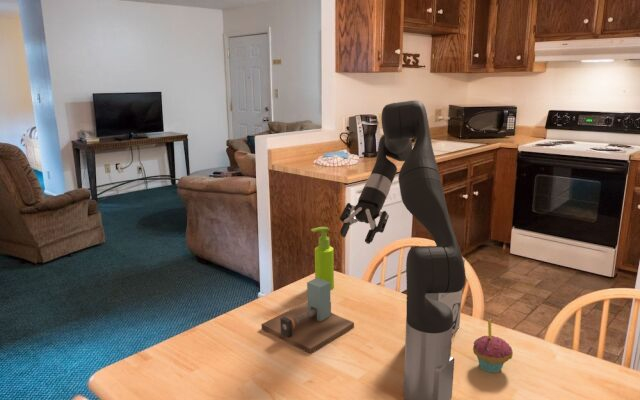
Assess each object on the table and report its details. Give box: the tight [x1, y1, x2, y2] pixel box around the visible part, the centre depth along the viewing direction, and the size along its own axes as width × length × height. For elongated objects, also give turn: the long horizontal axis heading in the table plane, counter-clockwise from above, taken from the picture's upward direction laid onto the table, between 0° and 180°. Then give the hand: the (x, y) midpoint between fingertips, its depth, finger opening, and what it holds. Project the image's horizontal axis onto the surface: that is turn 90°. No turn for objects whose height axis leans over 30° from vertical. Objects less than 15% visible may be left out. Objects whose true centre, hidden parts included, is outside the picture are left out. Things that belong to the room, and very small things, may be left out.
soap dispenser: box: [310, 226, 335, 291], centre depth 152 cm, size 6×7×20 cm
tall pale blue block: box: [306, 277, 332, 322], centre depth 132 cm, size 5×4×10 cm
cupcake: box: [472, 315, 513, 374], centre depth 111 cm, size 9×8×12 cm
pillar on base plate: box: [261, 301, 355, 355], centre depth 130 cm, size 18×17×6 cm
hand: (354, 239), depth 142 cm, fingers open, 8 cm apart
